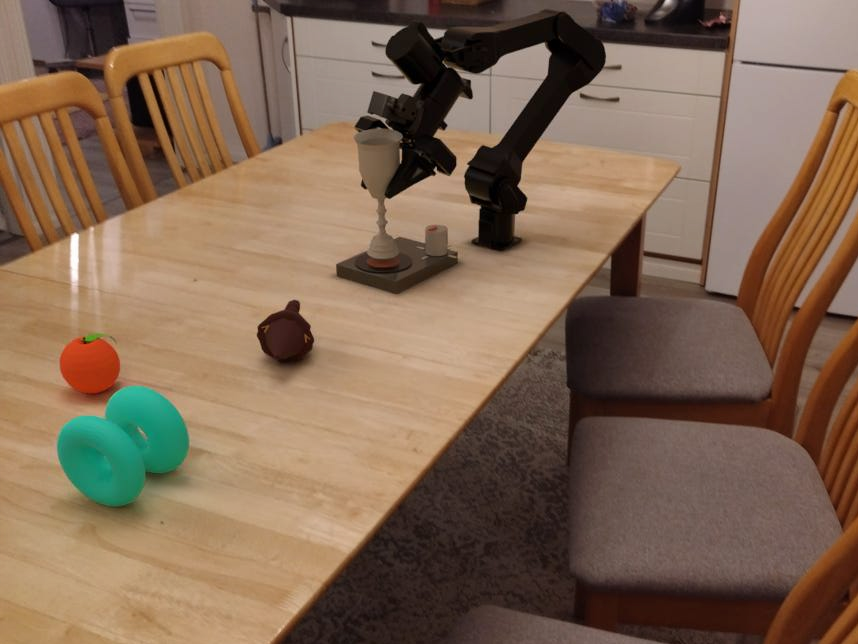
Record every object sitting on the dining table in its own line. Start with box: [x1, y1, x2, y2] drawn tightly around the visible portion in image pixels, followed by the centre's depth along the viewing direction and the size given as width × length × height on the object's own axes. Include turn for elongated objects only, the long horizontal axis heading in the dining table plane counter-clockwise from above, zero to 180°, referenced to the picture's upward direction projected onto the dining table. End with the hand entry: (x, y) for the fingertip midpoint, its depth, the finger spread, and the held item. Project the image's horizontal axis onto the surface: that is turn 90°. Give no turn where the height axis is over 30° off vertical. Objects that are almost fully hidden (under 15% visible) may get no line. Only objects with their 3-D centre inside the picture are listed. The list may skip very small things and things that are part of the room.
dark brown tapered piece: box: [256, 299, 315, 363], centre depth 130 cm, size 7×7×15 cm
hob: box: [335, 236, 459, 295], centre depth 159 cm, size 17×13×2 cm
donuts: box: [56, 385, 190, 507], centre depth 103 cm, size 10×10×10 cm
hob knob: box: [424, 224, 449, 256], centre depth 159 cm, size 4×4×4 cm
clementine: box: [59, 333, 121, 394], centre depth 122 cm, size 8×7×7 cm
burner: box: [355, 253, 412, 273], centre depth 156 cm, size 9×9×1 cm
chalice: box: [353, 128, 403, 259], centre depth 151 cm, size 7×7×18 cm
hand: (374, 192), depth 150 cm, fingers closed on chalice, 5 cm apart
